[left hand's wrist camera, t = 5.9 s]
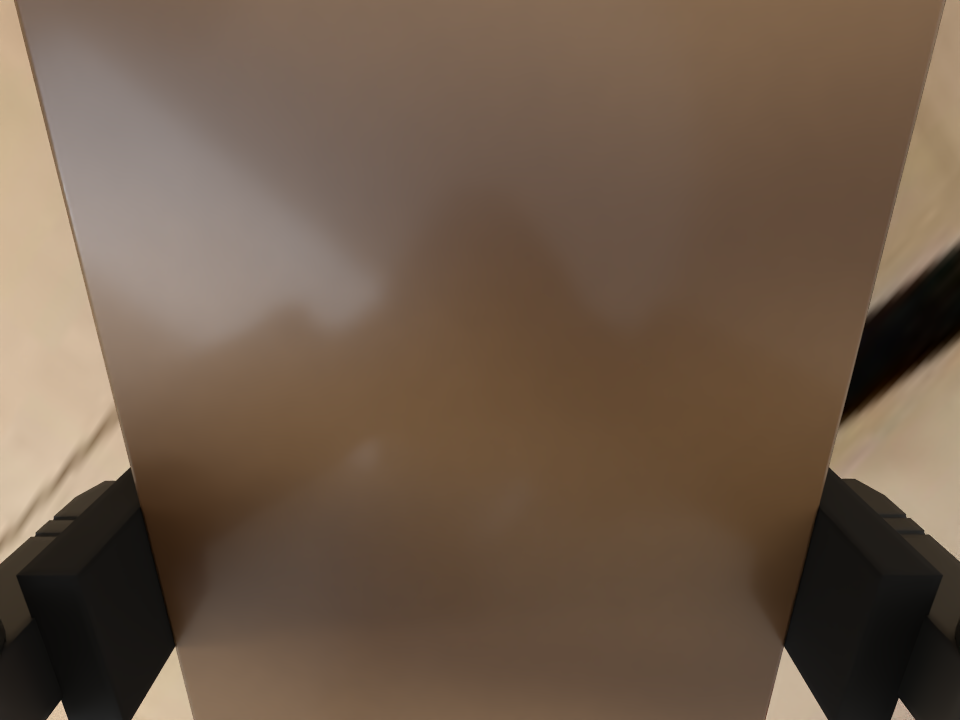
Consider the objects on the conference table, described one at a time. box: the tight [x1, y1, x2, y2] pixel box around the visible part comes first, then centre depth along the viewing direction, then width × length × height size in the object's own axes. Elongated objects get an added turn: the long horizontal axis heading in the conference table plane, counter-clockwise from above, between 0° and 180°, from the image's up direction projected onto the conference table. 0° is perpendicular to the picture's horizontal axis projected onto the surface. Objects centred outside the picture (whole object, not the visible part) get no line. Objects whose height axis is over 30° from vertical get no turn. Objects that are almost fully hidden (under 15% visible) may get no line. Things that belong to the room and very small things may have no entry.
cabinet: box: [14, 0, 946, 720], centre depth 11 cm, size 21×10×8 cm, turn 0°
